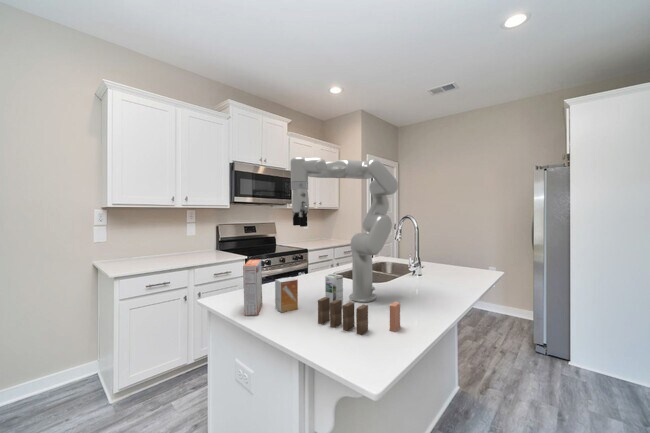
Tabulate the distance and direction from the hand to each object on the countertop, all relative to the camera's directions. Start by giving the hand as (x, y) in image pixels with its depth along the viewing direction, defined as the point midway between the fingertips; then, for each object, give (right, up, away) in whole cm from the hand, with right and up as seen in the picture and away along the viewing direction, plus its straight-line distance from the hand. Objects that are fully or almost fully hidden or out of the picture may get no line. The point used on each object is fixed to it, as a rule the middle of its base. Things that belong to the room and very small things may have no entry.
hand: (300, 225), depth 126 cm
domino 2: (+15, -37, -18) cm, 43 cm away
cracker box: (-20, -37, -1) cm, 42 cm away
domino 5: (+36, -36, -22) cm, 56 cm away
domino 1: (+10, -37, -15) cm, 41 cm away
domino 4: (+24, -37, -24) cm, 50 cm away
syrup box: (+15, -36, 0) cm, 39 cm away
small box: (-6, -37, 0) cm, 37 cm away
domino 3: (+19, -37, -21) cm, 46 cm away
